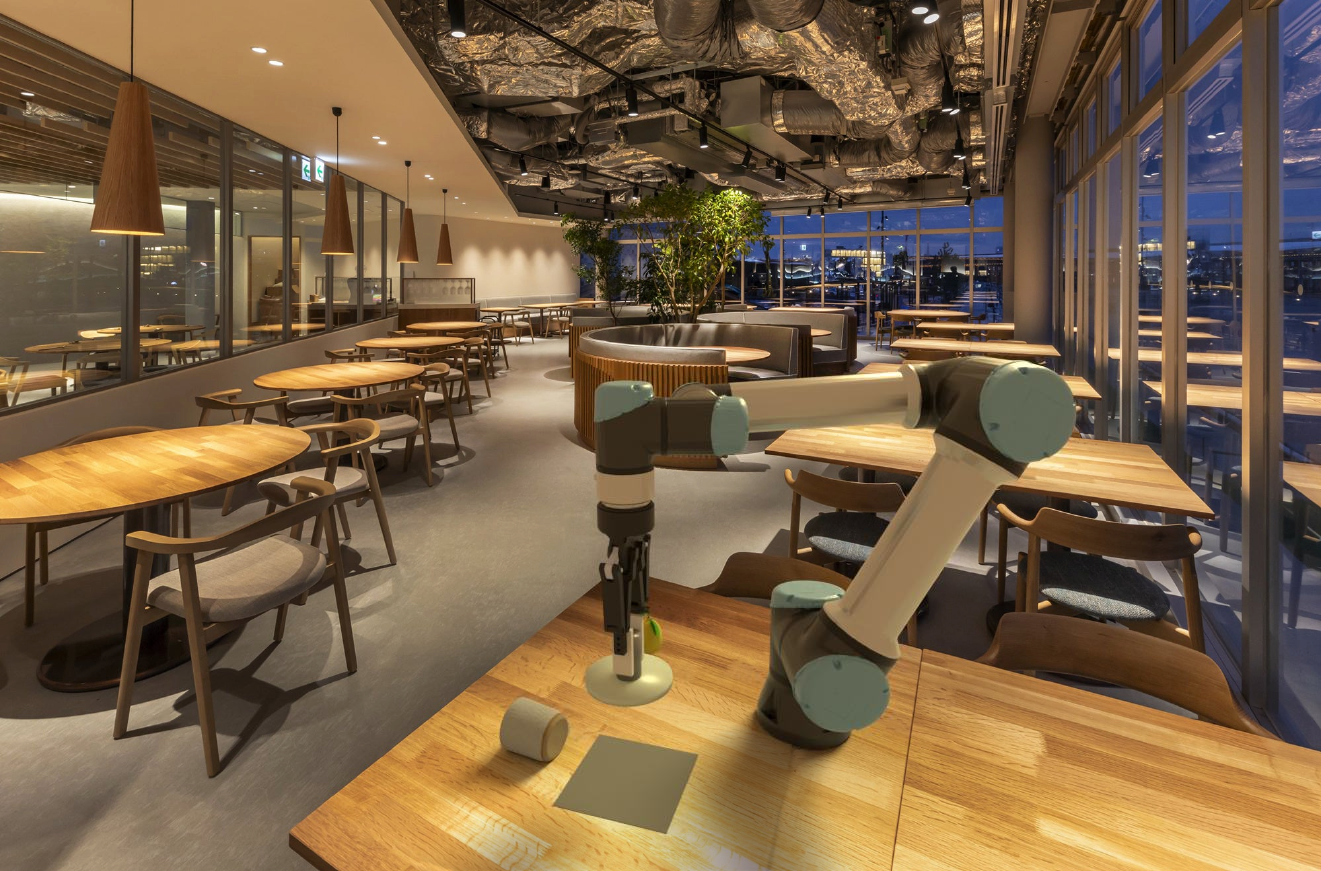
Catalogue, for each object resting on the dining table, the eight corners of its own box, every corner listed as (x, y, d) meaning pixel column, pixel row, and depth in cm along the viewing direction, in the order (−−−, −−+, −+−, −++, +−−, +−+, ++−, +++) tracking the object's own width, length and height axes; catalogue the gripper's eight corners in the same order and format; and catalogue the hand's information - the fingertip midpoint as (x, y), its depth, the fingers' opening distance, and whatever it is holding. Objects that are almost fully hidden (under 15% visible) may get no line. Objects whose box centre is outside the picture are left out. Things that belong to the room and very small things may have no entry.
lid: (682, 666, 96) (682, 620, 94) (657, 713, 84) (657, 663, 83) (604, 653, 99) (603, 609, 98) (570, 698, 88) (568, 648, 87)
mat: (698, 757, 100) (698, 754, 100) (666, 836, 85) (666, 833, 85) (599, 737, 105) (599, 734, 104) (552, 808, 90) (552, 805, 90)
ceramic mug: (545, 775, 96) (544, 726, 95) (498, 759, 99) (497, 712, 98) (583, 734, 106) (582, 689, 104) (539, 721, 109) (538, 677, 108)
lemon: (634, 646, 133) (634, 598, 131) (664, 647, 132) (664, 600, 130) (630, 663, 126) (629, 614, 124) (661, 665, 126) (660, 615, 124)
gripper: (621, 482, 96) (624, 634, 100) (571, 516, 80) (578, 693, 85) (671, 486, 94) (672, 641, 98) (630, 522, 78) (633, 704, 82)
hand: (628, 665), depth 91 cm, fingers closed on lid, 3 cm apart
